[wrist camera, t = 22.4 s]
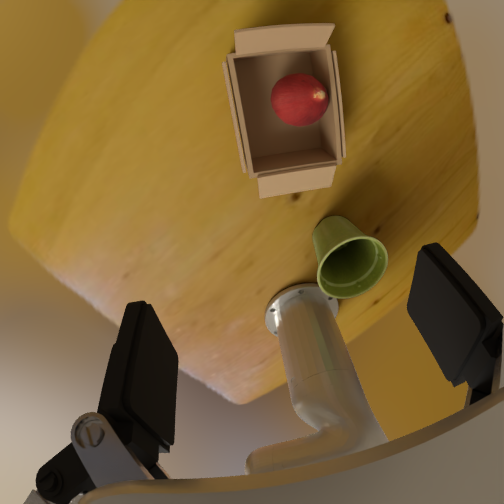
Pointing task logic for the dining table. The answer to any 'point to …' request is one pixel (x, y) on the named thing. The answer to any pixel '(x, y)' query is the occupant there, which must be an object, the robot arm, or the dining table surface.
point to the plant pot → (347, 258)
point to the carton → (269, 124)
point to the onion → (299, 99)
